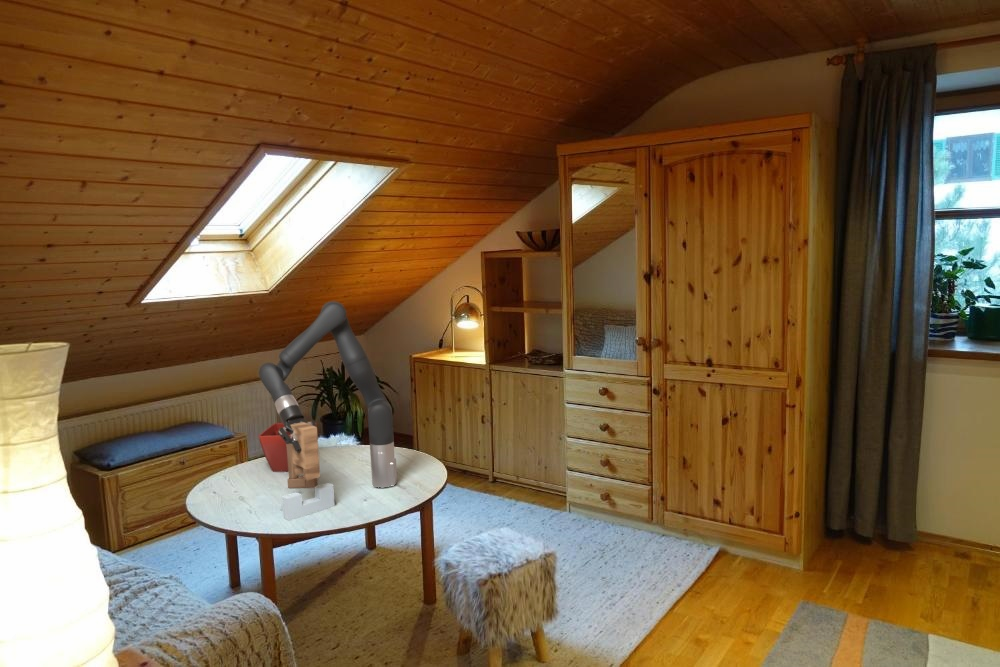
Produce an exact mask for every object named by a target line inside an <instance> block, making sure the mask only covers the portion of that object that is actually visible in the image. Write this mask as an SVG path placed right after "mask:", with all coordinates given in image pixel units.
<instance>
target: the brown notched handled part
mask: <svg viewBox="0 0 1000 667" xmlns="http://www.w3.org/2000/svg"><path fill="white" fill-rule="evenodd" d="M286 446H287V459H288V471H287V472H288V479H287V487H288V488H287V489H305V488H306V489H315V487H316V486H318V478H314V479H311V480H305V479H304V475H303V476H302V475H301V476H299V475H295V474H293V461H292V447H291V444H286Z"/></svg>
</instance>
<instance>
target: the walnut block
mask: <svg viewBox="0 0 1000 667" xmlns="http://www.w3.org/2000/svg"><path fill="white" fill-rule="evenodd" d="M290 426H291V428H292V430H294V432H295V436H296V438H297V441H298V443H299V445H300V447H301V452H300V453H298V452H296V451H295V448H294V446H293V445H292V444H291V447H292V461H293V474H295V475H298V476H299V475H302V474H303V476H304V479H305V480H311V479H314V478H317V479H318V478H320V477H321V470H320V458H319V456H320V453H319V439H318V434H317V433H318V427H317V426H316V427H315V426H313V425H310V424H307V423H305V422H303V423H301V424H300V423H296V425H293V424H292V425H290ZM292 434H293V433H292ZM292 434H291V435H292Z"/></svg>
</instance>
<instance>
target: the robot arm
mask: <svg viewBox="0 0 1000 667" xmlns="http://www.w3.org/2000/svg"><path fill="white" fill-rule="evenodd" d="M329 333H331V336H332V337H333V339H334V341H335V344H336V347H337V350H338V353H339V356H340V359H341V362H342V364H343V366H344V368H345V370H346V373H347V374H348V376H349V378H350V380H351V381H352V382H353V383H354V385H355V387H356V388H357V389H358V391H359V392H360V394H361V396H362V398H363V401H364V403H365V406H366V409H367V422H368V424H367V426H368V437H369V452H370V467H371V468H370V469H371V483H372V484H371V485H373V486H374V487H373V486H372V487H373V488H375V487H378V488H377V489H380V488H379V487H388V486H391V485H395V483H396V481H397V482H398V477H397V476H398V474H397V459H396V457H395V442H394V441H395V440H394V437H395V436H394V422H393V421H394V418H393V408H392V405H391V404H390V403H389V401H388V400H387V397H386V396H385V395H384V393H383V391H382V389H381V387H380V385H379V383H378V381H377V376H376V374H375V371H374V369H373V366H372V364H371V362H370V359H369V358H368V356H367V353H366V351H365V348H363V346H362V344H361V343H360V341H359V340H358V338H357V336H356V335H355V333H354V331H353V330H352V327H351V326H350V323H349V319H348V316H347V310H346V307H345V306H344V305H343V304H342V303H341V302H338V301H335V300H332V301H328V302H325V303H324V304H323V306H322V307H321V309H320V313H319V315H318V316H317V317H316V319H315V320H314V321H313V322H312V323H311V324H310V325H309V326H308V327H307V328H306V329H305V330H304V331H303V332H301V333H300V334H299V335H297V336H296V337H295V338H294V339H293V340H292V341H291V342H290V343H288V344H287V346H285V348H284V349H283V350H281V351H280V353H279V354H278V358H279V362H278V363H277V364H275V363H272V362H264V363H263V364H261V366H260V367H259V370H258V377H259V379H260V381H261V383H262V384H263V386H264V387H265V388H266V390H267V391H268V393H269V394H270V396H271V399H272V401H273V403H274V406H275V409H276V411H277V414H278V416H279V418H280V420H281V423H283V425H284V427H283V428H282V427H281V428H280V429H279V431H278V434H279V435H280V436H281V438H282V439H283V440H284V441H285V443H286V444H292V445H293V446H294V448H295V451H296V452H298V453H300V452H301V447H300V445H299V443H298V441H297V438H296V436H295V432H294V430H292V428H291V426H290V425H292V424H293V425H296V423H300V424H301V423H303V422H305V423H307V424H310V425H313V426H315V427H317V426H316V423H317V422H316V421H315V420H314V419H313V420H311V421H307V420H306V418H305V416H304V413H303V412H302V410H301V409H302V408H301V407H300V405H299V403H298V401H297V400H296V398H295V397H294V395H293V392H292V389H291V387H289V385H288V384H287V383H286V382H285V381H286V380H287V378H288V377H289V376H290V374H291V372H292V371H293V368H294V367H295V366H296V364H298V363H299V362H300V361H301V360H302V359H303V358H304V357H305V356H306V355H307V354H308V353H309V352H310V350H312V348H314V347H315V346H316V344H318V342H319V341H320V340H322V339H323V337H325V336H326V335H327V334H329ZM315 422H316V423H315ZM286 431H287V432H289V433H291V434H292V433H293V434H292V435H291V438H290V437H289V435H288V434H287V433H286ZM317 435H318V432H317ZM396 484H397V483H396ZM395 486H396V485H395Z"/></svg>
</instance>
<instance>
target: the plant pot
mask: <svg viewBox="0 0 1000 667" xmlns="http://www.w3.org/2000/svg"><path fill="white" fill-rule="evenodd" d="M315 423H316V427H317V426H318V425H317V423H318V422H316V421H315ZM281 427H282V428H283V427H284V425H283V423H282V422H276V423H273V424H272V425H270V426H269V427H268V428H266V429H265V430H264V431H263V432H261V433H260V434H259V435H258V440H259V443H260V446H261V449H262V452H263V454H264V457H265V459H266V461H267V464H268V466H269V468H270V470H271V471H272V472H273V473H274V472H275V473H277V472H280V473H281V472H288V459H287V446H286V443H285V441H284V440H283V439H282V438H281V436H280V435H279V434H278V431H279V429H280V428H281ZM286 433H287V434H288V435H289V437H290V438H291V433H289V432H287V431H286Z"/></svg>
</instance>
